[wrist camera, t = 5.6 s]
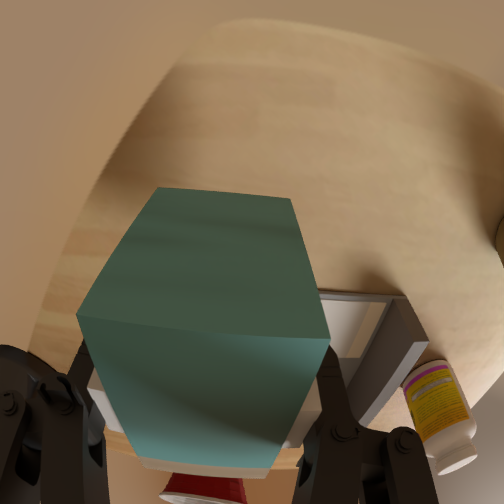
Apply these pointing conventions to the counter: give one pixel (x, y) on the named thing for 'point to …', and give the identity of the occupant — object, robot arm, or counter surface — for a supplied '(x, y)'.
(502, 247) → the squeeze bottle
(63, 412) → the robot arm
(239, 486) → the plastic cup
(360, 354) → the corner tray
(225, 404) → the teal block
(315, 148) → the counter surface
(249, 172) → the counter surface
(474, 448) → the supplement bottle
